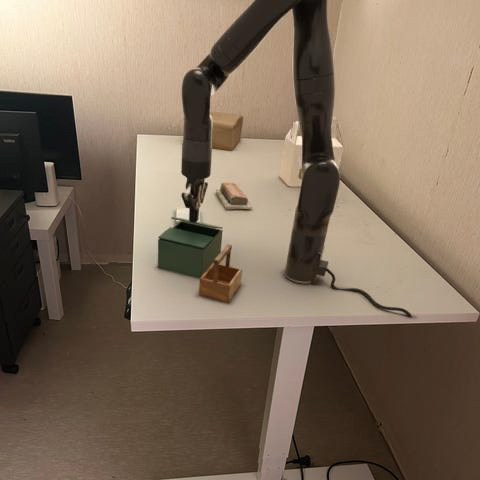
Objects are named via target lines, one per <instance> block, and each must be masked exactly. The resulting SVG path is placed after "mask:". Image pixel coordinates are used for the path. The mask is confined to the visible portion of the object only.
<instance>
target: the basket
mask: <svg viewBox="0 0 480 480" xmlns="http://www.w3.org/2000/svg"><path fill="white" fill-rule="evenodd" d="M232 249H233V245H232V244H231V243H227V244H226V245H225V247H223V249H221V252H220V254H219V255H218V256H217V257H216V258H215V259H214V263H213V264H212V265H211V266H210V267H209V268H208V270H207V271H206V272H205V273H204V274H203V275H202V277H201V278H199V285H198V287H199V288H198V296H199V297H203V298H206V299H210V300H214V301H218V302H222V303H227V304H229V303H230V302H231V299H232V298H233V297H234V296H235V294H236V293H237V291H238V289H239V288H240V287H241V284H242V283H241V282H242V273H243V268H240V267H236V266H231V255H232ZM224 259H225V264H223V263H222V262H223V260H224Z"/></svg>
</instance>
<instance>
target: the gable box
mask: <svg viewBox="0 0 480 480" xmlns="http://www.w3.org/2000/svg"><path fill="white" fill-rule="evenodd" d="M338 121H339V120H338V119H337V116H335V115H333V119H332V129H333V130H332V133H331V134H332V144H333V152H334V158H335V162H336V165H337V168H338V170H339V169H340V165H341V160H342V156H343V151H344V143H343V139H342V134H341V128H342V124H339V123H338ZM299 130H300V124H299V120H297V121H292V126H291V128H290V129H289V131H288V133H287V134H286V136H285V137H284V138H285V139H284V143H283V144H284V145H283V150H282V151H283V152H282V157H281V164H280V172H279V178H280V179H281V180H282V181H283V182H284V183H285V184H286V185H287V186H288V187H289V188H290V187H291V188H301V184H302V177H301V168H300V167H301V166H300V157H302V135H298V134H299Z"/></svg>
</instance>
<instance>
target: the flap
mask: <svg viewBox="0 0 480 480" xmlns="http://www.w3.org/2000/svg"><path fill="white" fill-rule="evenodd" d="M170 219H171V220H175V221H176V220H179V221H184V222H188V223H193V224H197V225H202V226H206V227H211V228H215V229H220V230H223V228H224V227H222V226H219V225H214V224H209V223H205V222H202V221H200V222H191V221H189V220H187V219H183V218H176V217H175V216H171V217H170Z"/></svg>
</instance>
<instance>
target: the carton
mask: <svg viewBox="0 0 480 480" xmlns="http://www.w3.org/2000/svg"><path fill="white" fill-rule="evenodd" d="M222 240H223V229H218V228H211V227H206V226H202V225H197V224H193V223H188V222H184V221H180V222H179V223H178V224H176V223H175V225H174V226H173V227H168V228H167V229H166V230H165V231H163V232H162V233H161V234H160V235H158V239H157V268H158V269H161V270H165V271H169V272H173V273H176V274H181V275H185V276H189V277H193V278H197V279H200V278H201V277H202V275H203V274H204V273H205V272H206V271H207V270H208V268H209V267H210V266H211V265H212V264H213V263H214V259H215V258H216V257H217V256H218V255H219V254H220V252H221V251H222V244H223V243H222V242H223V241H222Z"/></svg>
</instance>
